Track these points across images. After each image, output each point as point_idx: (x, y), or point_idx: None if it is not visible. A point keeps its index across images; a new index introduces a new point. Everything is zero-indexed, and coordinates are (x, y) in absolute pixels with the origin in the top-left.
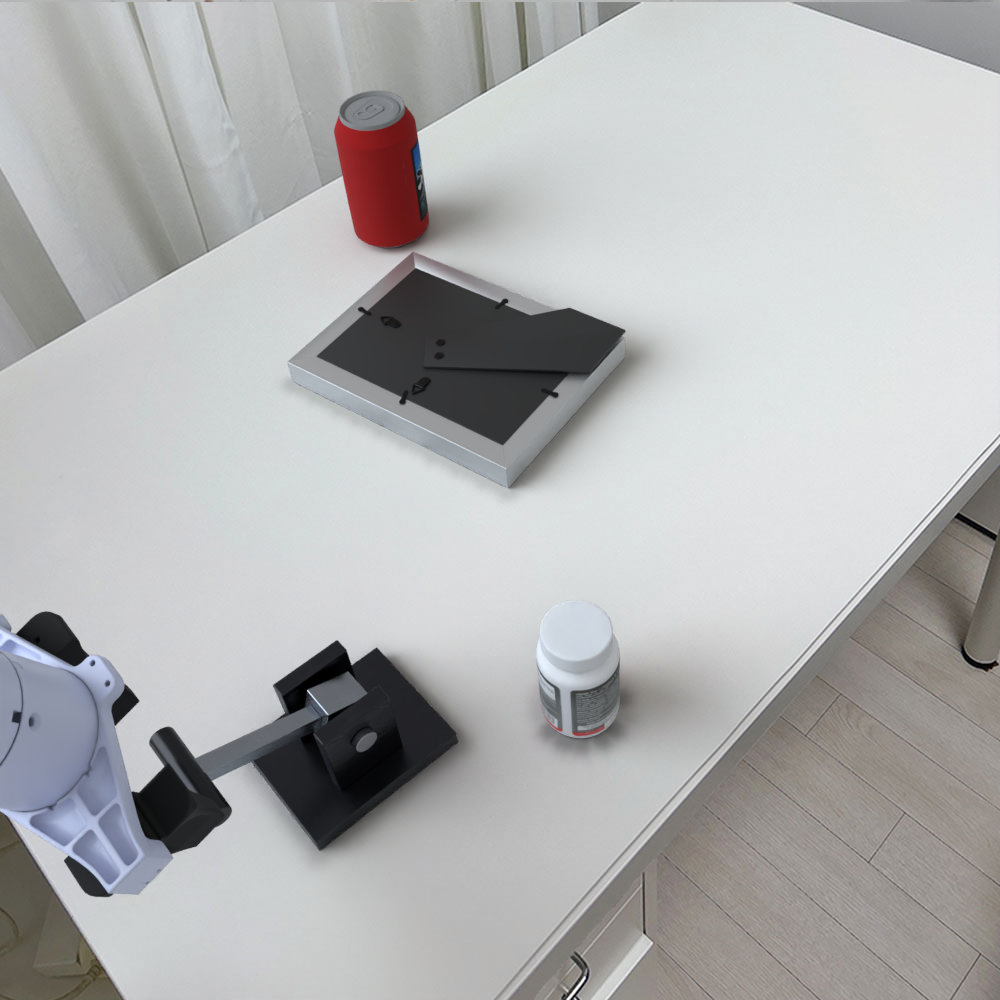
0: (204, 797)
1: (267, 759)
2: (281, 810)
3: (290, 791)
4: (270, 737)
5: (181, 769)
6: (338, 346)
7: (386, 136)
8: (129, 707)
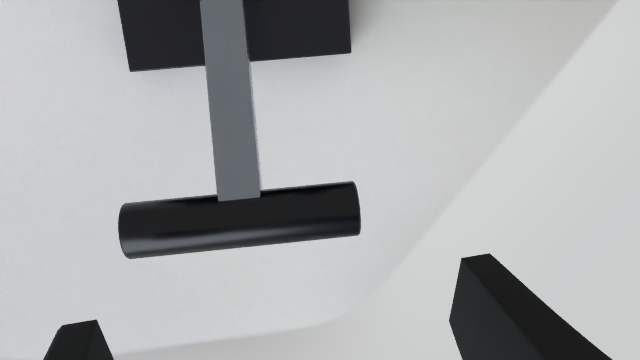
0: (520, 320)
1: (179, 47)
2: (256, 66)
3: (253, 43)
4: (238, 42)
5: (236, 236)
6: None
7: None
8: (102, 348)
